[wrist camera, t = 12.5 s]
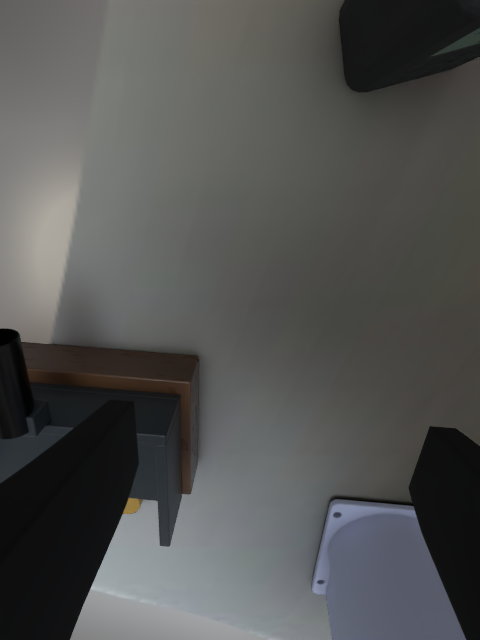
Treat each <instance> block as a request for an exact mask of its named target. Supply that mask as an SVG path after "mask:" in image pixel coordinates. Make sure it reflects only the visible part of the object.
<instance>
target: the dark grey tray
mask: <svg viewBox="0 0 480 640" xmlns="http://www.w3.org/2000/svg"><path fill="white" fill-rule="evenodd" d="M110 399H112V400H124V401H134V406H135V418H136V431H137V444H138V456H139V465H138V469H137V472H136V476H135V479H134V482H133V486H132V489H131V492H130V495H129V498H134V499H145V500H156V501H158V515H159V535H160V546H168V547H169V546H170V543H171V539H172V535H173V531H174V527H175V523H176V518H177V514H178V510H179V506H180V502H181V498H182V483H181V404H180V395H178V394H166V393H154V392H142V391H130V390H118V389H106V388H94V387H83V386H71V385H59V384H47V383H35V382H30V381H29V376H28V371H27V366H26V362H25V357H24V352H23V348H22V343H21V339H20V334H19V333H18V332H17V331H15V330H12V329H0V483H2V482H3V481H5V480H6V479H7V478H9V477H10V476H11V475H13V474H14V473H16V472H17V471H18V470H20V469H21V468H23V467H24V466H25V465H27V464H28V463H30V462H31V461H32V460H34V459H35V458H36V457H38V456H39V455H40V454H42V453H43V452H44V451H45V450H47V449H48V448H49V447H51V446H52V445H53V444H54V443H56V442H57V441H58V440H60V439H61V438H62V437H63V436H65V435H66V434H67V433H68V432H70V431H71V430H72V429H73V428H75V427H76V426H77V425H78V424H80V423H81V422H82V421H83V420H85V419H86V418H87V417H88V416H89V415H91V414H92V413H93V412H94V411H96V410H97V409H98V408H99V407H101V406H102V405H103V404H105V403H106V402H107V401H108V400H110Z"/></svg>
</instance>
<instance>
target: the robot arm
mask: <svg viewBox="0 0 480 640" xmlns="http://www.w3.org/2000/svg"><path fill="white" fill-rule="evenodd" d="M138 465H139V456H138V444H137V431H136V418H135V406H134V401H124V400H112V399H110V400H108V401H107V402H106V403H105V404H103V405H102V406H101V407H99V408H98V409H97V410H96V411H94V412H93V413H92V414H91V415H89V416H88V417H87V418H86V419H85V420H83V421H82V422H81V423H80V424H78V425H77V426H76V427H75V428H73V429H72V430H71V431H70V432H68V433H67V434H66V435H65V436H63V437H62V438H61V439H60V440H58V441H57V442H56V443H54V444H53V445H52V446H51V447H49V448H48V449H47V450H45V451H44V452H43V453H42V454H40V455H39V456H38V457H36V458H35V459H34V460H32V461H31V462H30V463H28V464H27V465H25V466H24V467H23V468H21V469H20V470H18V471H17V472H16V473H14V474H13V475H11V476H10V477H9V478H7V479H6V480H5V481H3V482H2V483H0V640H70V638H71V635H72V632H73V630H74V627H75V624H76V622H77V619H78V617H79V614H80V612H81V609H82V606H83V604H84V602H85V599H86V597H87V595H88V593H89V590H90V588H91V586H92V584H93V581H94V579H95V577H96V574H97V572H98V570H99V567H100V565H101V563H102V560H103V558H104V556H105V554H106V551H107V549H108V547H109V544H110V542H111V540H112V537H113V535H114V533H115V530H116V528H117V526H118V523H119V521H120V519H121V516H122V514H123V512H124V509H125V507H126V504H127V502H128V498H129V495H130V492H131V489H132V486H133V482H134V479H135V476H136V472H137V469H138ZM409 491H410V495H411V498H412V502H413V506H408V505H397V504H386V503H375V502H364V501H353V500H342V499H335V500H333V501H331V503H330V505H329V509H328V514H327V518H326V522H325V527H324V531H323V536H322V540H321V544H320V549H319V553H318V558H317V562H316V566H315V571H314V575H313V580H312V584H311V586H312V591H313V593H315V594H320V595H326V600H327V607H328V615H329V622H330V629H331V636H332V640H480V446H478V445H477V444H476V443H475V442H473V441H472V440H471V439H469V438H468V437H467V436H465V435H464V434H463V433H461V432H460V431H459V430H457V429H456V428H444V427H432V426H430V427H429V430H428V433H427V436H426V439H425V442H424V445H423V447H422V450H421V453H420V456H419V459H418V462H417V465H416V468H415V471H414V473H413V476H412V479H411V482H410V485H409Z"/></svg>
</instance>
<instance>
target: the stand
mask: <svg viewBox="0 0 480 640" xmlns="http://www.w3.org/2000/svg"><path fill="white" fill-rule="evenodd" d="M21 343H22V348H23V352H24V357H25V362H26V366H27V371H28V376H29V381H30V382H35V383H47V384H59V385H71V386H83V387H94V388H106V389H118V390H130V391H142V392H154V393H166V394H178V395H180V404H181V483H182V494H191V491H192V486H193V482H194V477H195V473H196V468H197V463H198V410H199V357H198V356H189V355H177V354H164V353H152V352H139V351H127V350H114V349H102V348H89V347H77V346H64V345H52V344H39V343H27V342H21Z"/></svg>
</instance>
